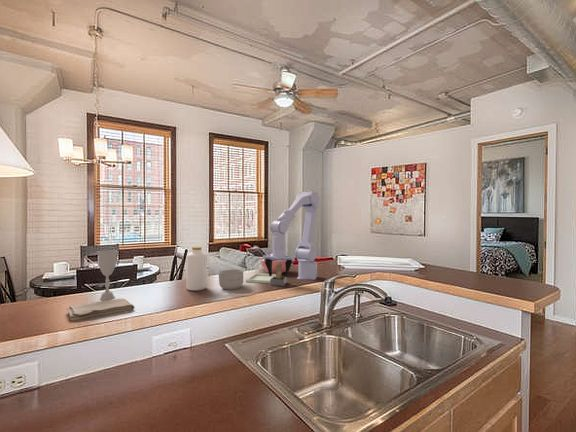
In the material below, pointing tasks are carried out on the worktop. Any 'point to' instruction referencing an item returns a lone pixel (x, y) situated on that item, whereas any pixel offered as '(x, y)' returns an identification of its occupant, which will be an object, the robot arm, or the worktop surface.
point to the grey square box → (278, 281)
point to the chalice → (107, 269)
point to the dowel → (278, 271)
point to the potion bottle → (196, 269)
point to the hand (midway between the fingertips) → (278, 276)
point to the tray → (260, 278)
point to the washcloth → (99, 309)
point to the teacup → (231, 278)
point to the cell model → (274, 265)
